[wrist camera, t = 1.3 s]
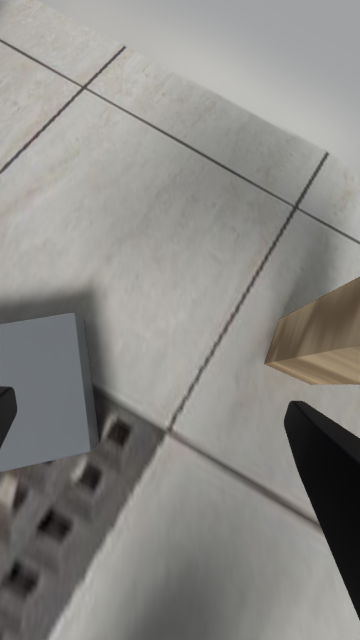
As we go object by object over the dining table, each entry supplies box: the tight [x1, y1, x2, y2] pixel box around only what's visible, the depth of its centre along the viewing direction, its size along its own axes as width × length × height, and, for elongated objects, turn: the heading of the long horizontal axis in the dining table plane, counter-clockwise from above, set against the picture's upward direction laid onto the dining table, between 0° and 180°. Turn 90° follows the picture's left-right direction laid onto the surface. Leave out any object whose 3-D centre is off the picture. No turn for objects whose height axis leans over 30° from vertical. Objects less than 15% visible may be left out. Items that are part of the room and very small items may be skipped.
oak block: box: [264, 277, 360, 384], centre depth 19 cm, size 4×4×12 cm
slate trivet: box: [0, 312, 99, 472], centre depth 20 cm, size 10×10×3 cm
